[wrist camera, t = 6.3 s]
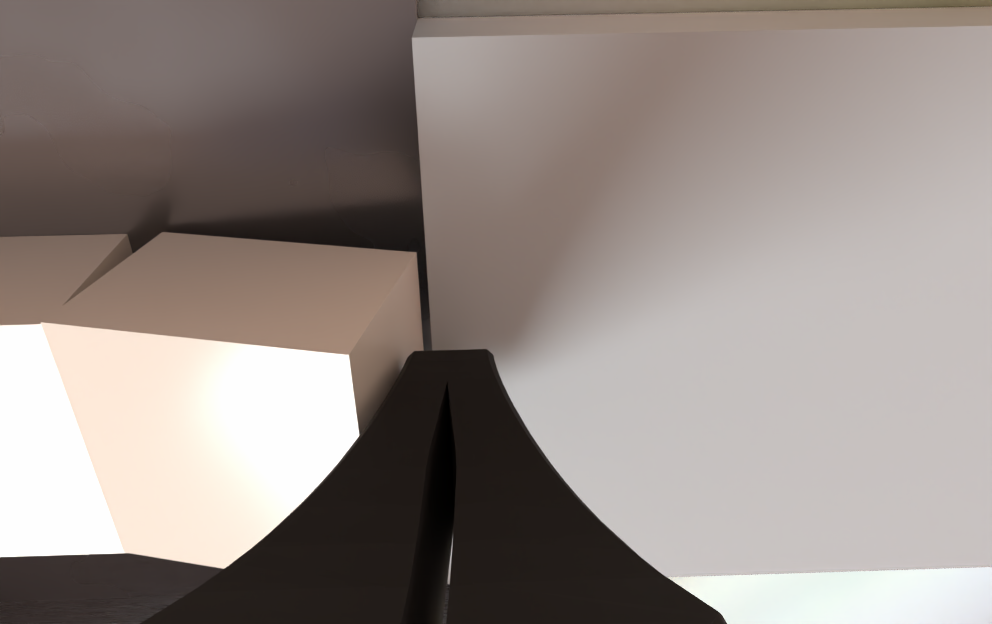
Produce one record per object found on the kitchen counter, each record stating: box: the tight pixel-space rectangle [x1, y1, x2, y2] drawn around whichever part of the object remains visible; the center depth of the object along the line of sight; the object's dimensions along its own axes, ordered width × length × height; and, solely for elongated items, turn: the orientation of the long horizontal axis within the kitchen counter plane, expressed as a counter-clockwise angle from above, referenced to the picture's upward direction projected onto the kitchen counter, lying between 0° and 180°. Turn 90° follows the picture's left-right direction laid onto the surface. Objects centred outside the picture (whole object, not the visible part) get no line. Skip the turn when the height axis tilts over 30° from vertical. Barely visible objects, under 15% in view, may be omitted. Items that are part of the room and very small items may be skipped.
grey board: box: [412, 6, 992, 584], centre depth 14 cm, size 16×11×2 cm
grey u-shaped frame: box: [0, 0, 450, 624], centre depth 13 cm, size 15×16×4 cm
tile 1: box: [40, 232, 424, 569], centre depth 13 cm, size 4×4×3 cm
